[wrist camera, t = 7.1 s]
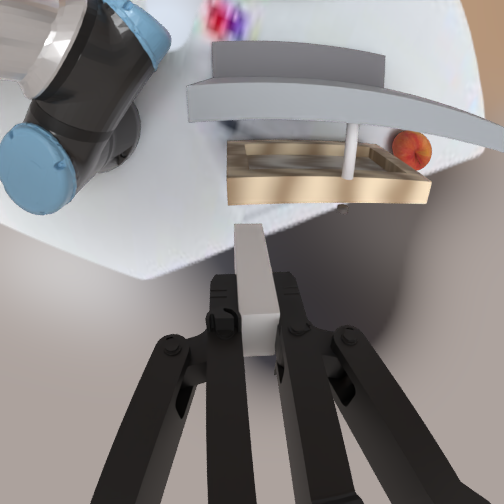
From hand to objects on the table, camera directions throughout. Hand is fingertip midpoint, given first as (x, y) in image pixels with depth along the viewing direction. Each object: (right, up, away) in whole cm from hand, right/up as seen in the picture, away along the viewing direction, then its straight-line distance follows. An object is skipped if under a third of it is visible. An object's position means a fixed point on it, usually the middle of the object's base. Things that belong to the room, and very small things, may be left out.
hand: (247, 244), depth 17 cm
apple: (+28, +20, +31) cm, 46 cm away
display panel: (+8, +26, +25) cm, 37 cm away
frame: (+9, +15, +26) cm, 32 cm away
